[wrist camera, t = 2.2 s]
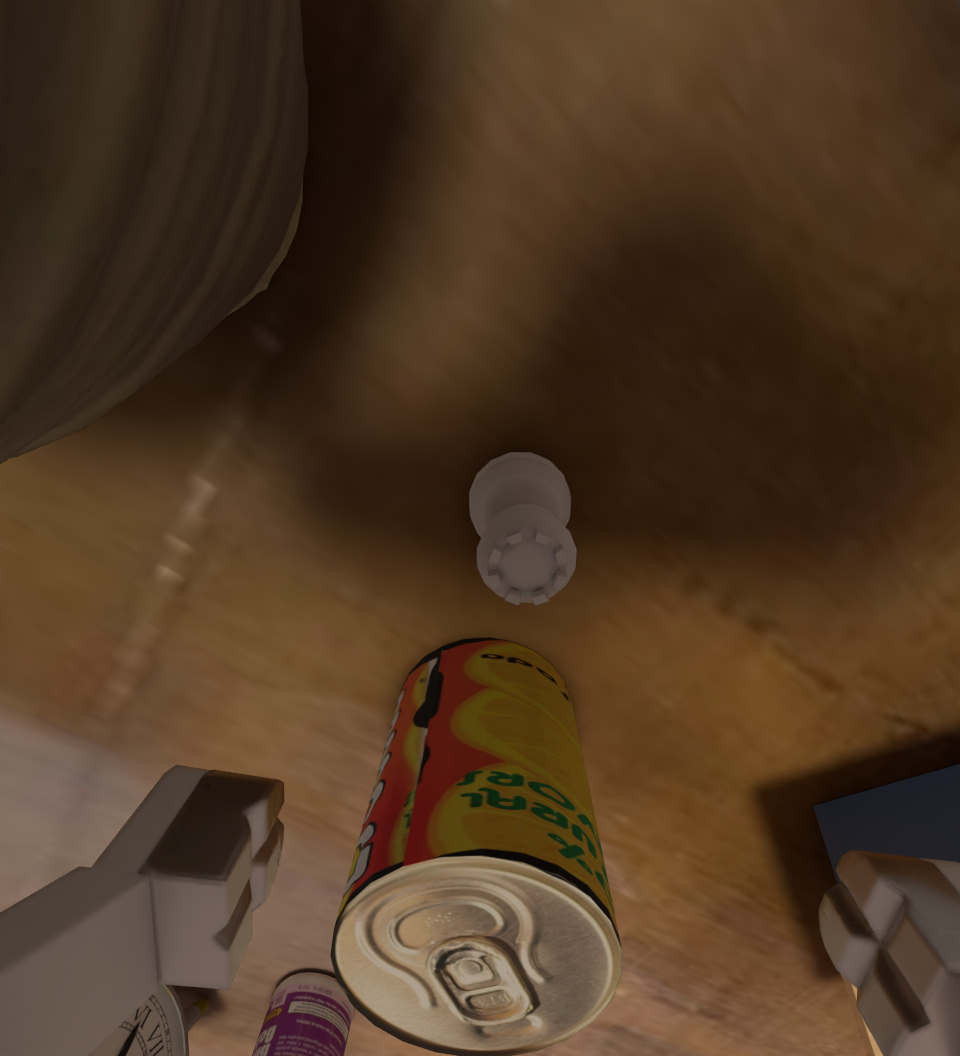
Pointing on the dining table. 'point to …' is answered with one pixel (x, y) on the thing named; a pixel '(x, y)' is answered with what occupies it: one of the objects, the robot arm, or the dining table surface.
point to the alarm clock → (154, 1027)
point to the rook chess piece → (523, 527)
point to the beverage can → (479, 865)
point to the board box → (894, 832)
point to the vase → (136, 191)
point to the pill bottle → (306, 1018)
